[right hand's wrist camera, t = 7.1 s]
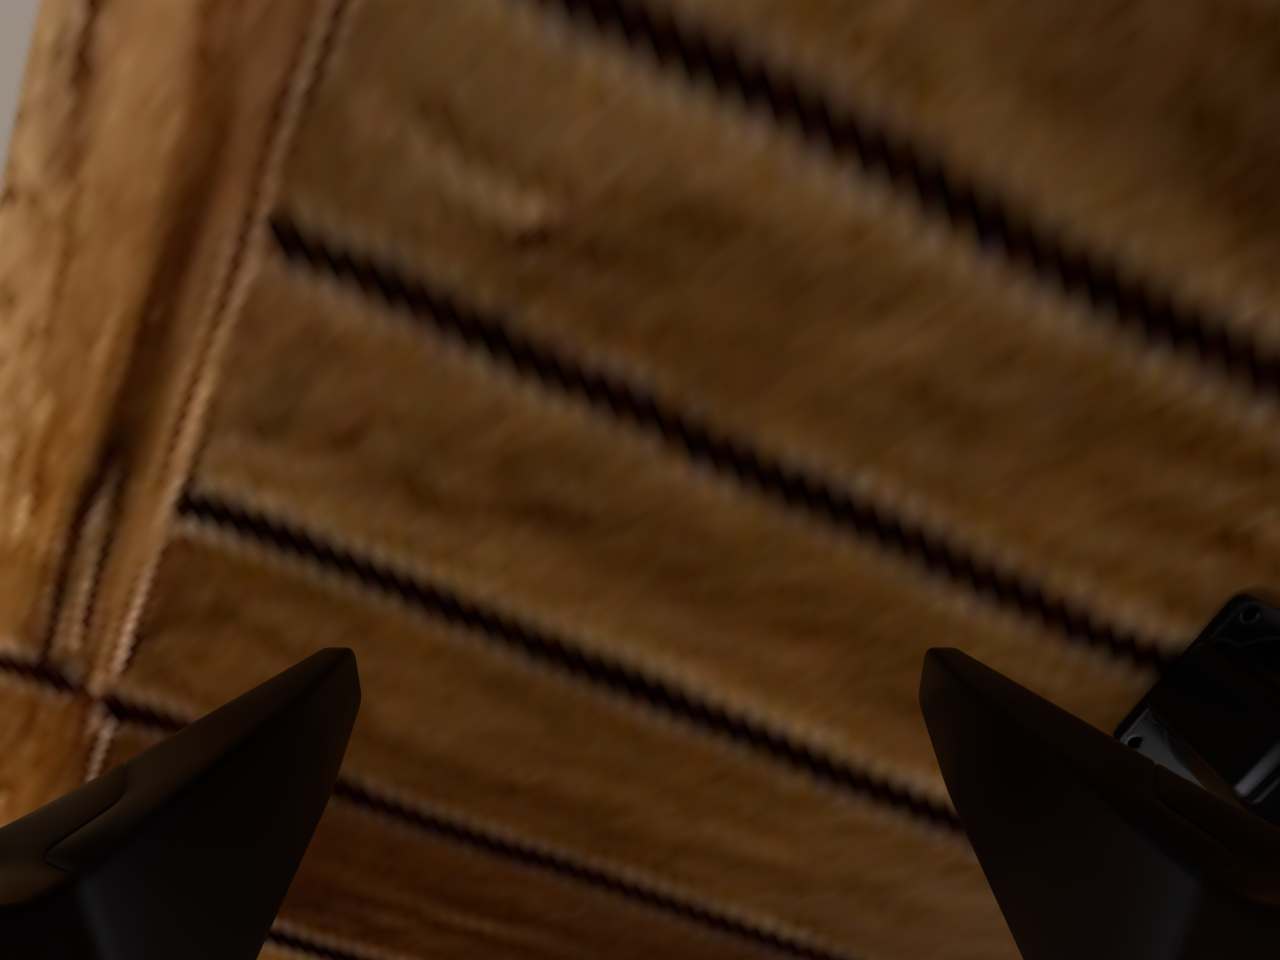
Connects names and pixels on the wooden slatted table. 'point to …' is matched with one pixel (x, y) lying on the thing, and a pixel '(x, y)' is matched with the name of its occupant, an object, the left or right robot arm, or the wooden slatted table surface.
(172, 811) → the right robot arm
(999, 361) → the wooden slatted table surface
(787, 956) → the wooden slatted table surface
